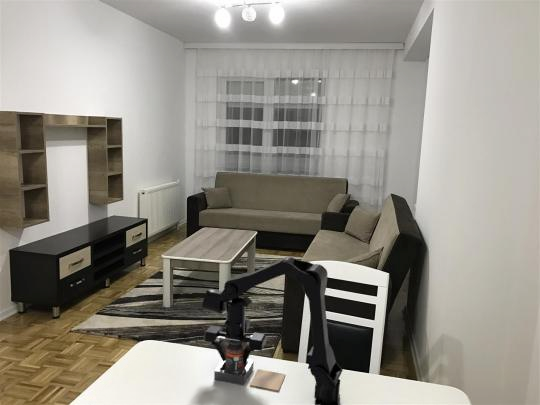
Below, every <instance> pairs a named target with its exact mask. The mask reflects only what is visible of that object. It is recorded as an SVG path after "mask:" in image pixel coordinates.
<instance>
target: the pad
mask: <svg viewBox="0 0 540 405" xmlns="http://www.w3.org/2000/svg"><path fill="white" fill-rule="evenodd" d="M285 377H286V374H285V373H281V372H280V373H279V372H275V371H271V370H270V371H269V370H264V369H257V370H256V373H255V374H254V375H253V378H252V380H251V382H250V384H249V387H253V388H257V389H263V390H269V391H272V392H273V391H274V392H280V389H281V387H282V385H283V383H284V380H285Z"/></svg>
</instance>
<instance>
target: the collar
mask: <svg viewBox="0 0 540 405" xmlns="http://www.w3.org/2000/svg"><path fill="white" fill-rule="evenodd" d="M253 370H254V360H253V359H249V358H248V360H247V363H246V365H244V371H243V373H242V374H240V373H235V372H230V371H225V361H223V360H222V359H221V361H220V362H219V364H218V365H217V367H216V368H215V370H214V374H213V375H214V376H213V379H214V381H218V382H219V381H220V382H223V383H229V384H234V385H239V386H245V385H246V383H247V381H248V379H249V377H250V376H251V374H252V372H253Z"/></svg>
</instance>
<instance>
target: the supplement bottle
mask: <svg viewBox="0 0 540 405" xmlns="http://www.w3.org/2000/svg"><path fill="white" fill-rule="evenodd" d="M242 343H243V342H241V341H235V340H229V339H228V345H226V346H225V371H230V372H235V373H240V374H242V373H243V371H244V349H245V347H244V346H243V345H242Z"/></svg>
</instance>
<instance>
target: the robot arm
mask: <svg viewBox="0 0 540 405" xmlns="http://www.w3.org/2000/svg"><path fill="white" fill-rule="evenodd" d="M282 275H286V276H288V277H289V278H291V279H292V280H293V281H294V282H295V283H297V284H300V285H302V289H303V292H304V294H305V296H306V298H307V299H308V304H309V306H308V308H309V314H310V325H311V337H312V347H311V349H310V350H309V352H308V353H307V355H306V358H307V363H308V367H307V369H308V370H310V374H311V375H312V376H313V378H314V380H315V386H314V397H313V398H314V399H315V400H314V404H315V405H339V403H340V397H341V394H340V387H341V379H340V377H341V375H342V373H343V371H344V370H343V368H342V367H341V366H340V365H339V363H338V362H337V360H336V356H335V354H334V353H335V352H334V349H333V348H332V347H331V345H330V342H329V332H328V321H327V312H326V301H325V300H326V299H325V298H326V297H325V296H326V291H327V290H326V288H327V285H328V284H327V283H328V270H327V268H325V267H324V266H323V265H321V264H318V263H315V264H314V263H312V262H310V261H306V260H301V259H297V258H294V257H291V256H287V257H286V256H285V258H283V259H281V260H279V261H276V262H274V263H271V264H270V265H266V266H265V267H264V266H263V267H262V268H260V269H258V270H255V271H253V272H245V273H244V272H243V273H239V274H236V275H235V276H233V277H232V278H230V279H229V280H227V281H226V282H225V283H224V286H223V288H224V289H223V290H222V291H220V290H215V289H212V288H209V289H207V290H206V291H205V295H204V297H203V301H202V303H201V307H202V310H204V311H207V312H211V313H215V314H220V315H222V314H223V313H224V312H226V319H225V320H226V321H224V325H225V331H223V327H222V326H217V325H209V327H208V328H207V329H206V331H205V332H204V335H203V341H204V342H206V343H207V342H209V343H210V344H211V345H212V346H214V348H215V349H216V351H217V353H218V354H219V357H220V358H221V361H222V360H223V361H225V350H226V340H228V341H229V340H235V341H241V342H242V343H246V346H245V347H244V365H246V363H247V360H248V359H249V358H250V355H251V352H253V353H254V352H255V351H263V349H264V347H265V346H266V344H267V336H266V334H265V333H259V332H255V331H254V332H253V334H252V335H245V334H247V332H248V330H249V329H250V322H251V318H248V317H247V316H246V308H247V307H248V306H250V305H251V304H252V303H253V300H252V299H250V298H249V296H248V295H245V296H244V297H241V296H242V295H244V294H245V293H247V292H248V291H250V290H251V289H252V288H254V287H256V286H259V285H261V284H264V283H265V282H269V281H270V280H273V279H276V278H278V277H280V276H282Z"/></svg>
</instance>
